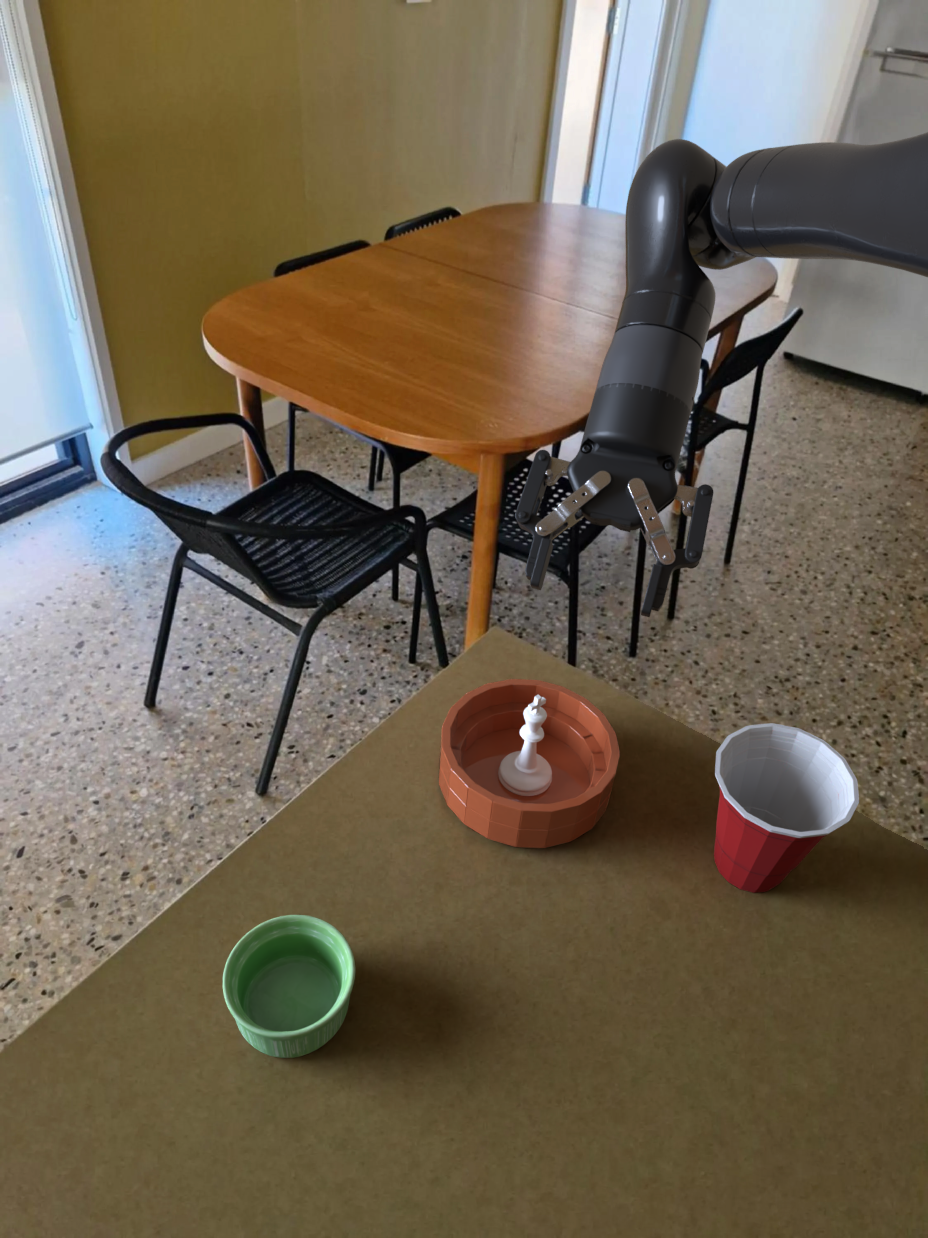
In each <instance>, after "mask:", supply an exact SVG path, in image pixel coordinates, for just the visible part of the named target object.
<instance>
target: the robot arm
mask: <svg viewBox="0 0 928 1238" xmlns="http://www.w3.org/2000/svg"><path fill="white" fill-rule="evenodd" d="M627 194H628V195H627V201H626V206H625V225H624V228H625V229H624V230H625V291H624V292H625V293H624V296H623V299H622V303H621V306H620V311H619V315H618V319H617V322H616V325H615V330H614V333H613V335H612V338H611V339H612V340H611V342H610V345H609V347H608V349H607V352H606V354H605V356H604V359H603V363H602V364H601V365H602V366H601V369H600V372H599V376H598V379H597V383H596V387H595V391H594V395H593V398H592V402H591V406H590V408H589V413H588V416H587V420H586V424H585V428H584V431H583V436H582V439H581V443H580V446H579V450H578V451H577V454H576V455H575V457H574V458H573V459H572V460H571V461H569V460H564V459H561V458H558V457H554V456H551V454H550V452H549V451H548V450H547V449H539V450H538V451H536V452H535V454H534V457H533V460H532V463H531V467H530V468H529V472H528V475H527V478H526V481H525V483H524V487H523V490H522V492H521V496H520V498H519V501H518V505H517V507H516V510H515V512H514V513H515V514H514V517H515V520H516V522H517V524H518V526H519V528H520V529H521V530H524V531H526V532H527V533H529V534H531V535H532V537H533V538H532V542H531V546H530V549H529V555H528V557H527V561H526V565H525V569H524V571H525V577H526V578H527V580H528V581H530V584H529V586H530V587H531V589H534V590H538V591H541V590H542V589H543V586H544V582H545V578H546V575H547V571H548V567H549V564H550V559H551V557H552V552H553V549H554V544H553V540H554V539H556V538H557V537H558V536H560V534H562V533H563V532H565V531H567V529H570V528H572V527H573V526H575V525H576V524H577V523H579V522H580V521H581V520H582V519H584V518H585V519H586V520H587V521H589V522H590V524H592V525H595V526H601V527H602V526H612V527H613V528H615V529H617V530H619V531H622V532H627V533H631V532H632V531H637V530H639V529H640V530H641V533H642V536H643V537H644V540H645V542H646V545H647V546H648V547H649V549H650V552H651V554H652V556H653V558H654V560H655V563H653V564H652V567H651V568H652V569H651V571H650V576H649V580H648V584H647V587H646V592H645V595H644V599H643V603H642V607H641V611H640V616H641V617H647V618H651V614H652V611H655V612H659V611H660V610H661V608H662V607H663V605H664V602H665V597H666V594H667V589H668V586H669V582H670V578H671V575H672V573H673V572H674V571H676V570H679V569H695V568H697V566H698V565H700V561H701V559H702V556H703V551H704V547H705V540H706V535H707V530H708V525H709V519H710V513H711V508H712V504H713V503H712V502H713V497H714V488H713V487H712V486H711V485H709V484H705V483H704V484H701V485H699V486H698V487H696V486H689V485H682V484H678V482H677V480H676V479H677V478H676V472H677V468H678V463H679V459H680V456H681V452H682V448H683V444H684V440H685V436H686V433H687V430H688V429H687V428H688V425H689V420H690V418H691V414H692V412H693V409H694V406H695V402H696V401H695V398H696V394H697V390H698V386H699V380H700V374H701V365H702V364H701V363H702V358H703V354H704V350H705V346H706V343H707V339H708V334H709V331H710V327H711V322H712V319H713V314H714V310H715V304H716V298H717V297H716V290H715V286H714V284H713V282H712V281H711V279H710V278H709V277H708V275H707V274H706V273H705V272H704V270H703V269H702V268H705V269H709V270H715V271H717V270H718V271H721V270H722V271H723V270H726V269H727V270H728V269H729V268H732V267H735V266H737V265H740V264H743V263H746V262H748V261H751V260H753V259H756V258H765V259H789V260H790V259H792V260H844V261H845V260H846V261H854V262H855V261H856V262H862V263H868V264H874V265H880V266H884V267H888V268H892V269H897V270H902V271H905V272H908V273H912V274H915V275H919V276H921V277H925V278H928V131H927V132H924V133H921V134H918V135H915V136H911V137H907V138H902V139H897V140H894V141H889V142H883V143H875V144H858V143H857V144H856V143H851V142H836V141H835V142H833V141H832V142H831V141H829V142H826V141H824V142H810V143H809V142H808V143H807V142H806V143H800V144H799V143H798V144H791V145H790V144H789V145H782V146H774V147H766V148H761V149H755V150H752V151H749V152H747V153H744V154H742V155H740V156H738V157H736V158H735V159H733V160H732V161H731V162H729V164H727V165H725V164H724V163H723V162H721V161H720V160H719V159H717V158H716V157H714V156H713V154H711V153H710V152H708V151H707V150H705V149H704V148H702V147H701V146H699V145H698V144H696V143H695V142H692V141H690V140H688V139H682V138H674V139H670V140H667V141H664V142H663V143H661V144H659V145H657V146H656V147H655V148H654V149H653V150H651V151H650V152H649V153H648V154H647V155H646V157H644V159H643V161H642V162H641V163H640V165H639V167H638V168H637V170H636V172H635V174H634V176H633V179H632V181H631V183H630V188H629V191H628V193H627ZM561 477H567V479H568V482H569V485H570V488H571V490H572V493H571V494H570V495H568V496H567V497H566V498H565V499H563V500H562V501H561V502H559V504H558V505H556V507H555V508H554V509H553V510H552V511H551V512H550V513H548V514H547V515H546V516H545V517H543V518H541V517H539V516H538V512H539V510H540V507H541V504H542V502H543V499H544V495H545V492H546V489H547V486H548V487H551V486H554V485H556V484H557V482H558V480H559V479H560V478H561ZM675 500H676V501H678V502H679V503H680V504H681V512H682V513H683V515H684V516H685V517H689V518H690V520H689V526H688V531H687V532H688V533H687V538H686V542H685V547H684V548H675V549H674V548H673V546H672V544H671V542H670V540H669V538H668V535H667V532H666V530H665V526H664V524H663V522H662V520H661V518H660V516H659V514H660V513H661V512H663V511H664V510H665V509H666V508H667V507H669V506H670V505H671V504H673V502H674V501H675Z"/></svg>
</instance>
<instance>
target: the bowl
mask: <svg viewBox="0 0 928 1238" xmlns="http://www.w3.org/2000/svg"><path fill="white" fill-rule="evenodd" d="M536 695H540V696H541V697H544V698H545V699H546V703H545V704H543V705H542V706H540V707H542V708H543V709H544V710H545V711H546V713H547V718H546V720H545V721H544V723H543V724H542V725H541V727H542V729H543V731H544V737H543V739H542V740H541V741H539V742H537V744H536V754H538V755H540V756H542V757H543V758H544V759H545V760H546V761H547V762H548V763H549V765H550V767H551V770H552V781H551V784H550V786H549V787H548V789H547V790H545V791H544V792H543V793H541V794H538V795H535V796H521V795H517V794H515V793H512V792H511V791H509V790H508V789H506V788H505V787H504V786H503V785H502V783H501V782H500V779H499V776H498V770H499V767H500V764H501V762H502V760H503V759H504V758H505V757H506V756H507V755H508V754H510V753H513V752H516V751H521V750H522V747H523V745H524V741H525V740H524V739H523V738H522V737H521V735H520V729H521V728H522V726H523V725H525V724H526V721H525V719H524V710H525V709H526V708H527V707H528V705H529V704H531V703H532V702H534V697H535V696H536ZM440 731H441V733H440V745H439V747H440V748H439V759H438V785H439V788H440V791H441V793H442V795H443V798H444V801H445V803H446V805H447V807H448V808H449V809H450V810H451V811H452V812H453V814H455V815H456V817H457V818H458V819H459V821H461V823H462V824H463V825H464V826H466V827H468V828H469V829H472V830H473V831H474V832H476V833H478V834H479V835H481V836H482V837H484V838H486V839H487V840H491V841H494V842H498V843H500V844H504V845H507V846H510V847H515V848H530V849H547V848H550V847H554V846H558V845H559V846H560V845H563V844H566V843H571V842H572V841H574V840H576V839H577V838H579V837H581V836H583V834H586V833H587V832H589V831H590V830H592V829H593V828H594V827H595V825H596V824H597V823H598V821H600V819H601V817H602V816H603V815H604V814H605V812H606V811H607V808H608V805H609V801H610V797H611V792H612V789H613V785H614V781H615V778H616V774H617V770H618V765H619V761H620V757H621V750H620V746H619V740H618V736H617V733H616V730H615V729H614V727H613V726H612V724H611V723H610V721H609V720H608V718H607V716H606V715H605V714H604V712H603V711H601V710H600V709H599V708H598V707H597V706H596V705H594V703H592V701H590V700H588V698H586V697H585V696H583V695H581V694H579V693H577V692H575V691H573V690H570V689H569V688H567V687H565V686H563V685H560V684H556V683H553V682H547V681H544V680H540V679H530V678H529V679H527V678H509V679H508V678H507V679H503V680H497V681H492V682H488V683H485V684H482V685H481V686H478V687H476V688H474V689H472V690H470V691H468V692H466V693H465V694H464V695H462V696H461V697H460V698H459V699H458V700H457V701H456V702H455V703H454V704H453V705H452V706H451V707H450V708H449V710H448V712H447V714H446V717H445V718H444V721H443V723H442V726H441V730H440Z"/></svg>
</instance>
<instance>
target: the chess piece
mask: <svg viewBox="0 0 928 1238" xmlns="http://www.w3.org/2000/svg"><path fill="white" fill-rule="evenodd" d="M545 703H546V699H545V698H544V697H541V696H540V695H536V696H535V697H534V702H532V703H531V704H529V705H528V707H527V708H526V709H525V710H524V719H525V721H526V724H525V725H523V726H522V728H521V729H520V735H521V737H522V738H523V739H524V740H525V741H524V745H523V747H522V750H521V751H516V752H513V753H510V754H508V755H507V756H506V757H505V758H504V759H503V760H502V762H501V764H500V767H499V770H498V776H499V779H500V782H501V783H502V785H503V786H504V787H505V788H506V789H508V790H509V791H511V792H512V793H515V794H517V795H521V796H535V795H538V794H541V793H543V792H544V791H545V790H547V789H548V787H549V786H550V784H551V781H552V770H551V767H550V765H549V763H548V762H547V761H546V760H545V759H544V758H543V757H542V756H540V755H538V754H536V744H537V742H539V741H541V740H542V739H543V737H544V731H543V729H542V727H541V725H542V724H543V723H544V721H545V720H546V718H547V713H546V711H545V710H544V709H543V708H542V707H540V706H542V705H543V704H545Z"/></svg>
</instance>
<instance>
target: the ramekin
mask: <svg viewBox="0 0 928 1238" xmlns="http://www.w3.org/2000/svg"><path fill="white" fill-rule="evenodd" d="M355 981H356V962H355V956H354V952H353V950H352V948H351V945H350V944H349V941H348V939H347V938H346V937H345V936H344V934H343V933H342V932H341V931H340V930H339V929H338V928H337V927H335V926H334V925H332V924H331V923H329V922H328V921H326V920H323V919H322V918H319V917H316V916H312V915H308V914H307V915H306V914H287V915H280V916H277V917H272V918H271V919H268V920H266V921H263V922H261V923H260V924H258V925H256V926H255V927H253V928H252V929H250V930H249V931H248V932H246V933H245V935H243V936H241V938H240V939H239V941H238V942H237V943H236V944H235V946H234V947H233V949H232V950H231V951H230V953H229V955H228V957H227V959H226V962H225V965H224V968H223V974H222V993H223V998H224V1001H225V1004H226V1007H227V1009H228V1011H229V1013H230V1014H231V1016H232V1017H233V1018H234V1020H235V1023H236V1025H237V1028H238V1030H239V1032H240V1034H241V1035H242V1037H243V1038H244V1039H245V1041H246V1042H247V1043H248V1044H249V1045H250V1046H252V1047H253V1048H254V1049H256V1050H257V1051H259V1052H260V1053H263V1054H264V1055H267V1056H270V1057H275V1058H280V1059H289V1058H290V1059H294V1058H299V1057H302V1056H305V1055H308V1054H310V1053H312V1052H315V1051H317V1050H318V1049H320V1048H321V1047H323V1046H324V1045H326V1044H327V1043H328V1042H329V1041H330V1040H332V1038H333V1037H334V1036H335V1035H336V1034H337V1032H338V1031H339V1030H340V1029H341V1027H342V1025H343V1024H344V1021H345V1018H346V1016H347V1013H348V1010H349V1006H350V1005H349V1004H350V1001H351V994H352V991H353V988H354V985H355Z"/></svg>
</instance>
